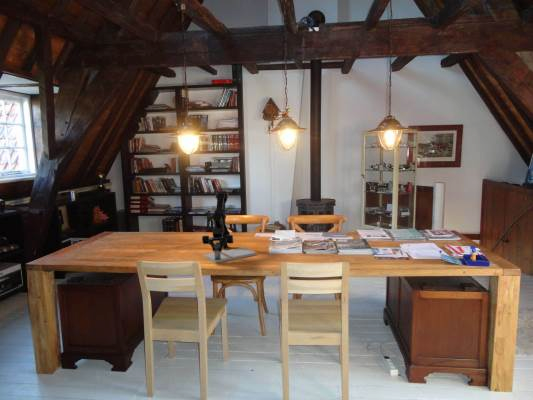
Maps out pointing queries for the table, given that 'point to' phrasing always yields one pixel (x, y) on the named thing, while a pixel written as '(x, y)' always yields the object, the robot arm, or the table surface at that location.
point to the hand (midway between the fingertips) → (217, 251)
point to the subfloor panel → (231, 254)
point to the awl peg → (217, 250)
